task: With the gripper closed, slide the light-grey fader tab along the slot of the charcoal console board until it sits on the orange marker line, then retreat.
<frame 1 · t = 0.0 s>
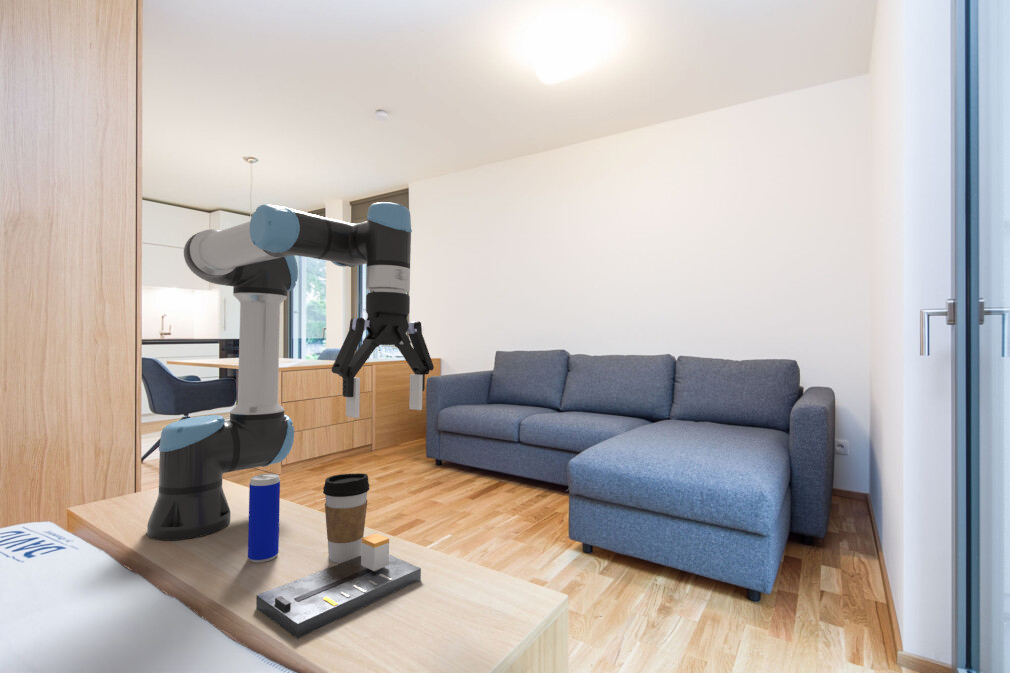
hand: (386, 413, 86), 28 cm above the table, fingers open, 13 cm apart
fader tab: (375, 551, 83), point 5 cm above the table, slide at 6.0 cm
console: (343, 593, 79), on the table
beverage can: (263, 558, 91), on the table
coffee cup: (345, 557, 93), on the table
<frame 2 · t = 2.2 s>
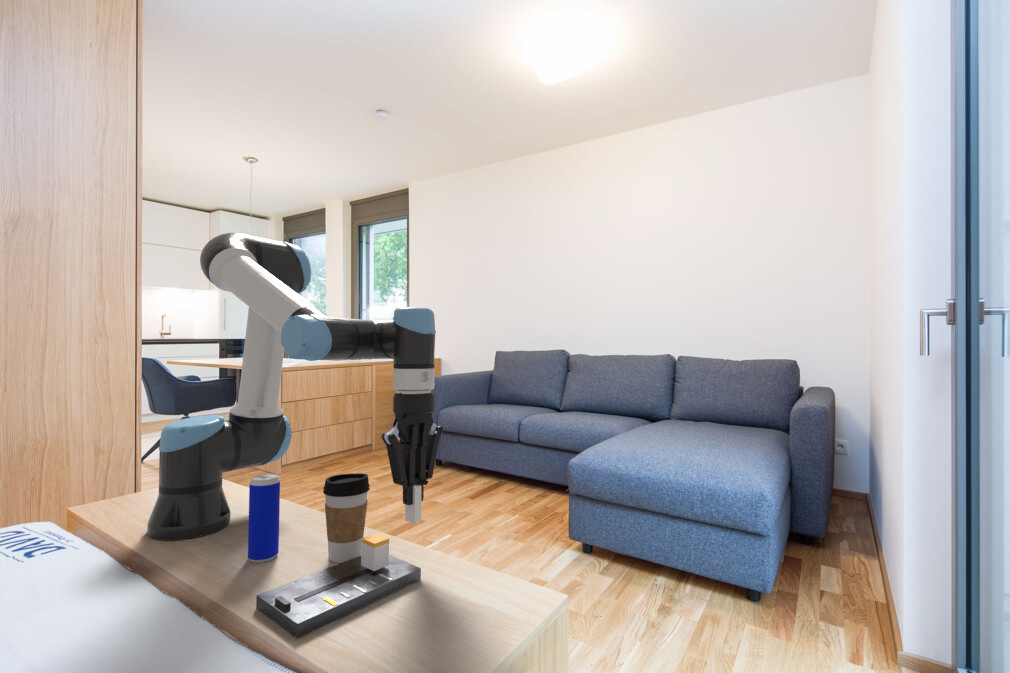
hand: (413, 520, 90), 8 cm above the table, fingers closed
nothing on the table moved.
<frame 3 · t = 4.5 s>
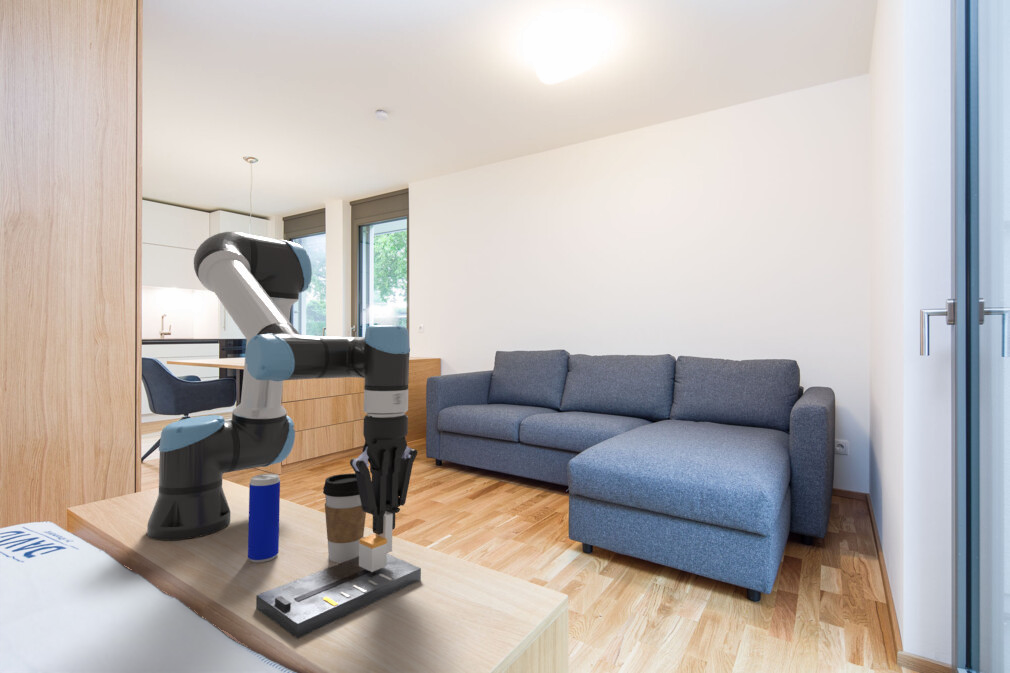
hand: (383, 550, 85), 4 cm above the table, fingers closed
fader tab: (372, 552, 83), point 5 cm above the table, slide at 5.5 cm, touching gripper
everything else where it was.
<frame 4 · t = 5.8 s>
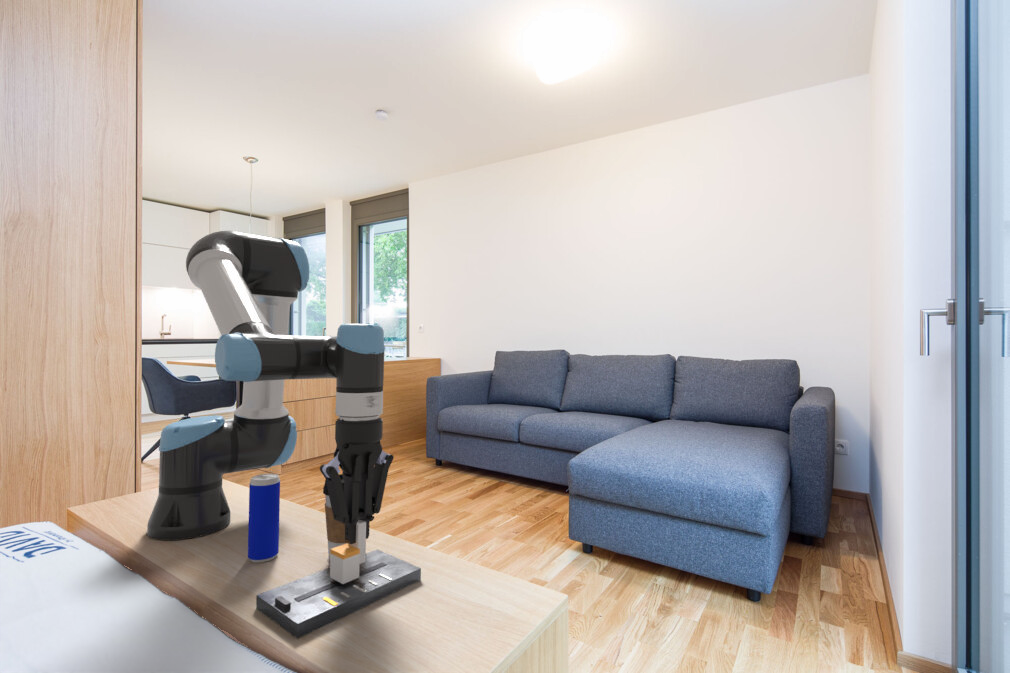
hand: (356, 560, 81), 4 cm above the table, fingers closed
fader tab: (344, 563, 79), point 5 cm above the table, slide at 0.1 cm, touching gripper
everything else where it was.
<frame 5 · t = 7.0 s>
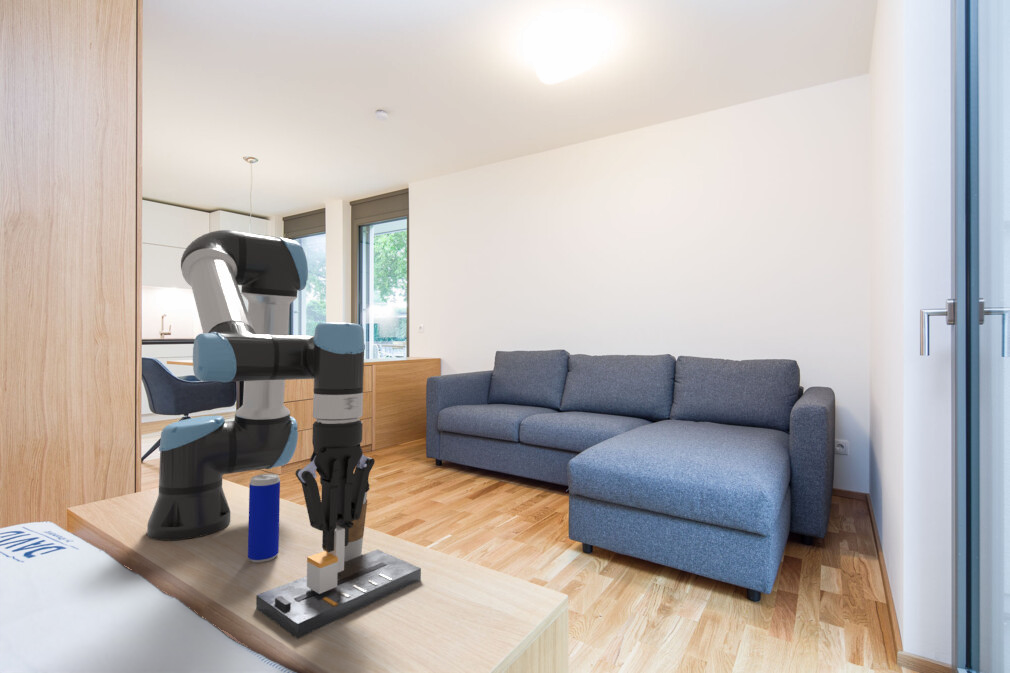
hand: (335, 569, 77), 4 cm above the table, fingers closed
fader tab: (322, 571, 76), point 5 cm above the table, slide at -3.8 cm, touching gripper
everything else where it was.
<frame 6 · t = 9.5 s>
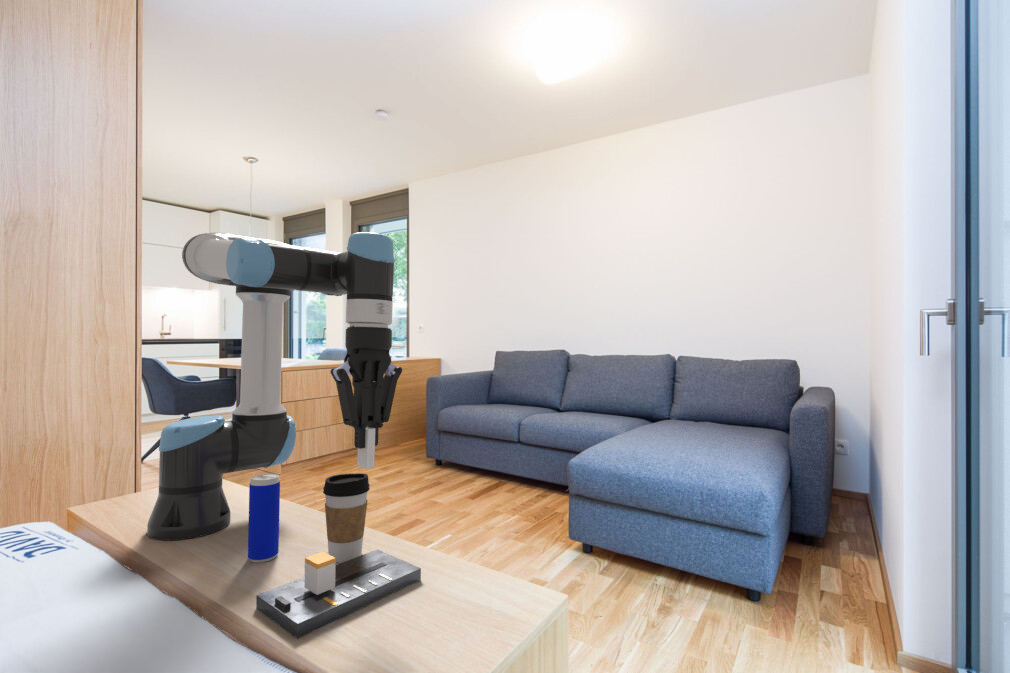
hand: (365, 466, 82), 19 cm above the table, fingers closed
fader tab: (320, 572, 75), point 5 cm above the table, slide at -4.2 cm
everything else where it was.
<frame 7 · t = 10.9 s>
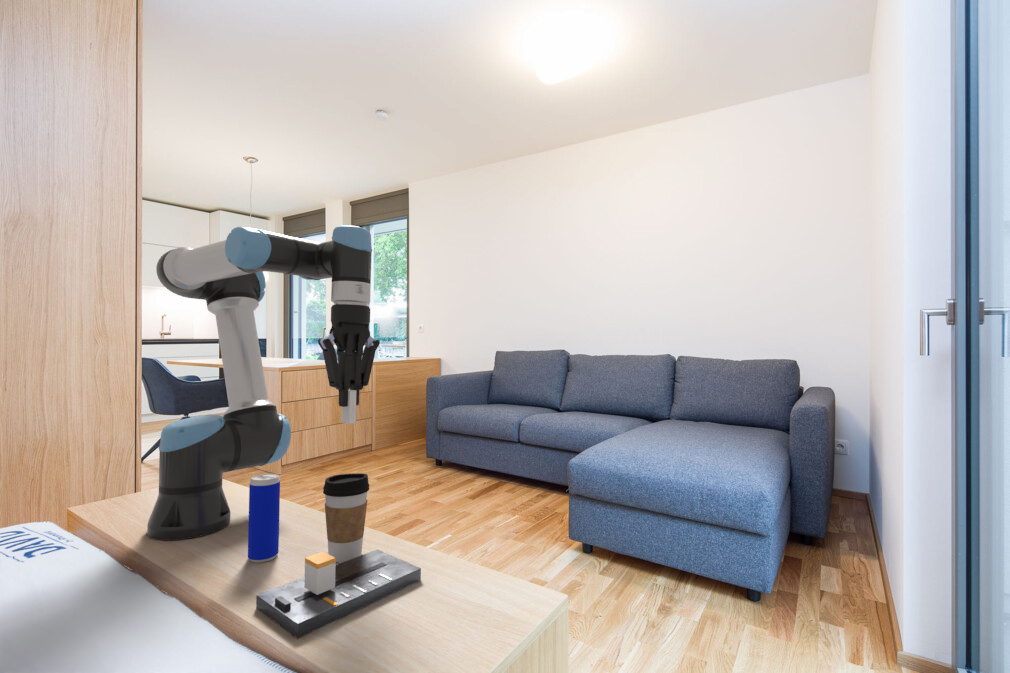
hand: (348, 422, 98), 24 cm above the table, fingers closed
nothing on the table moved.
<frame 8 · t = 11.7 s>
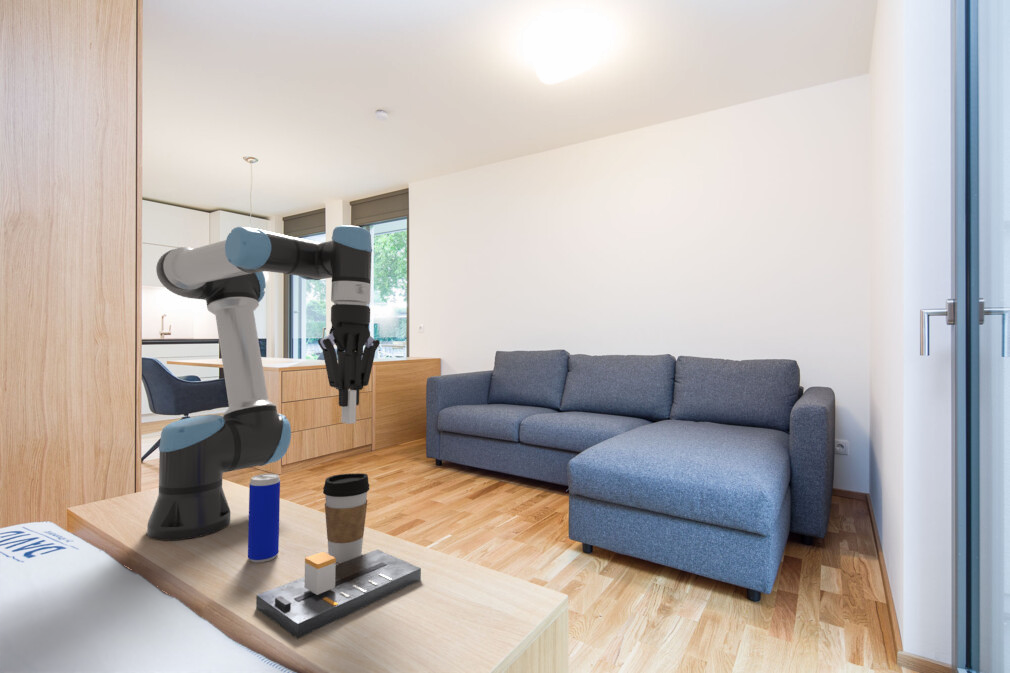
hand: (348, 422, 98), 24 cm above the table, fingers closed
nothing on the table moved.
at the end: fader tab slide at -4.2 cm; fader tab touching nothing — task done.
